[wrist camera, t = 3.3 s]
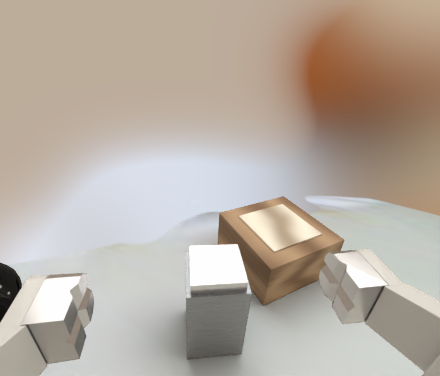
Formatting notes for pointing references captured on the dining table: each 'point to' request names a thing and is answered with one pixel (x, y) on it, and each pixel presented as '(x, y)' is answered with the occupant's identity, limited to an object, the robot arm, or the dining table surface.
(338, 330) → the dining table surface
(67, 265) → the dining table surface
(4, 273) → the webcam
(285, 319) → the dining table surface
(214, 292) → the block
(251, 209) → the stand
